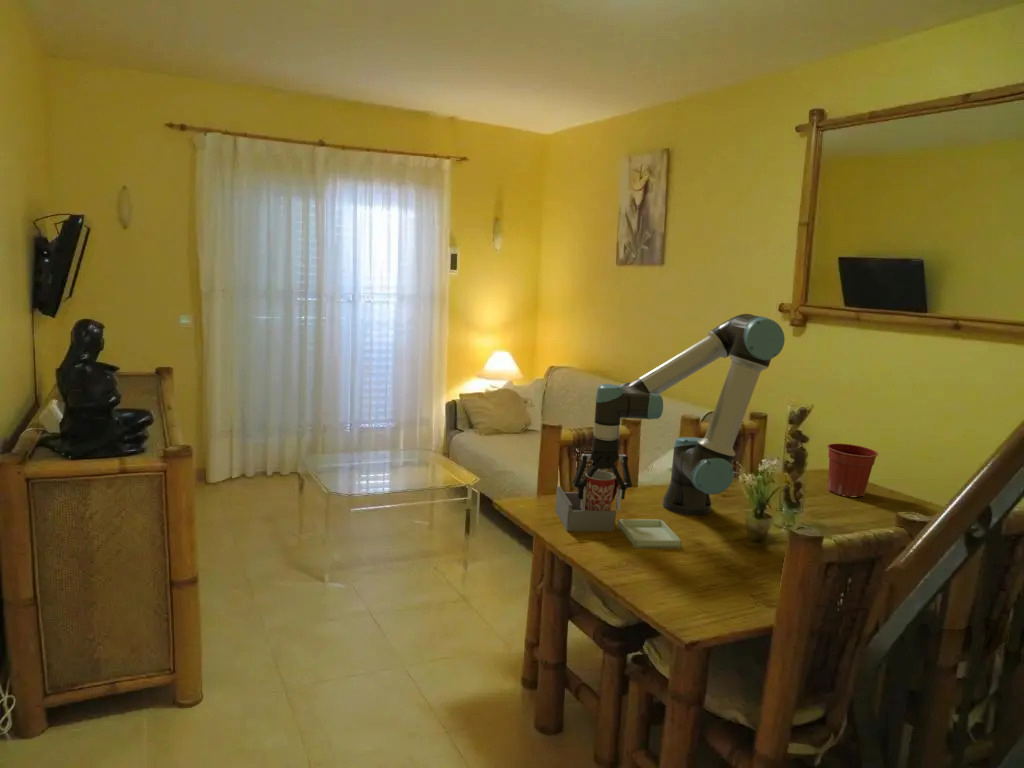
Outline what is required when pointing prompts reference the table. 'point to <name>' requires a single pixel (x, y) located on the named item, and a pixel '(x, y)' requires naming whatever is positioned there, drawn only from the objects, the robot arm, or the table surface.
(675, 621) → the table surface
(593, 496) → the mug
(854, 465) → the flower pot
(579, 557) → the table surface
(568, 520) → the bay
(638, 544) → the tray
